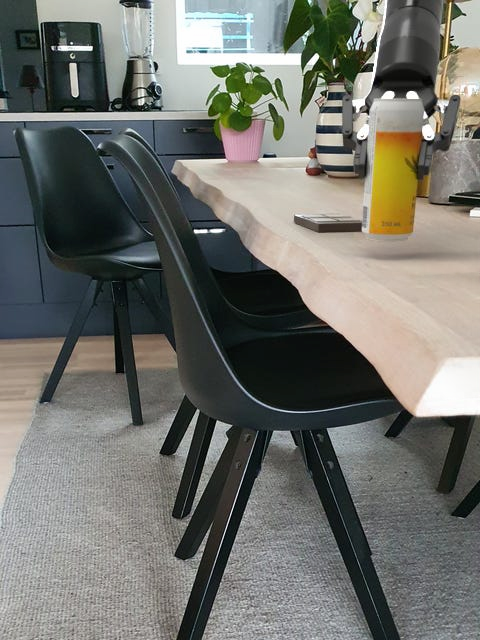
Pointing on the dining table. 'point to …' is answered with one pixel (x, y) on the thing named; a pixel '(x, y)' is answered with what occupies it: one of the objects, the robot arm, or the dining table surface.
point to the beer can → (392, 168)
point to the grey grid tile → (328, 222)
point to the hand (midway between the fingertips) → (391, 173)
